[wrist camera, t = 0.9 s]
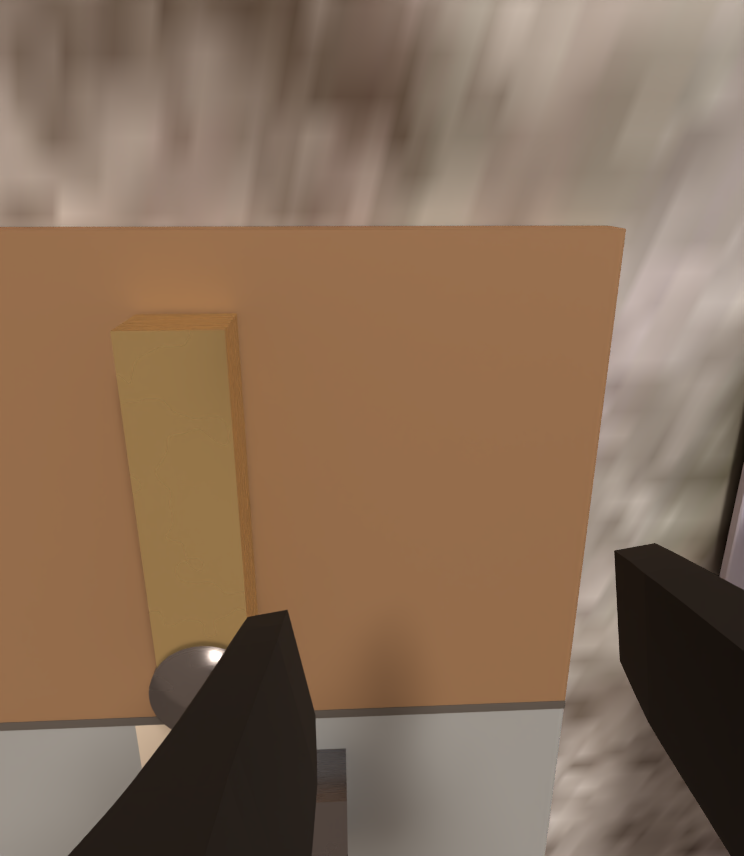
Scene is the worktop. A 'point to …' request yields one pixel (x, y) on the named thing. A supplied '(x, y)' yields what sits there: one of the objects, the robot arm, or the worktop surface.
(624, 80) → the worktop surface
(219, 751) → the robot arm
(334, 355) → the door mockup
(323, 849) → the block
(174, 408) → the latch arm
